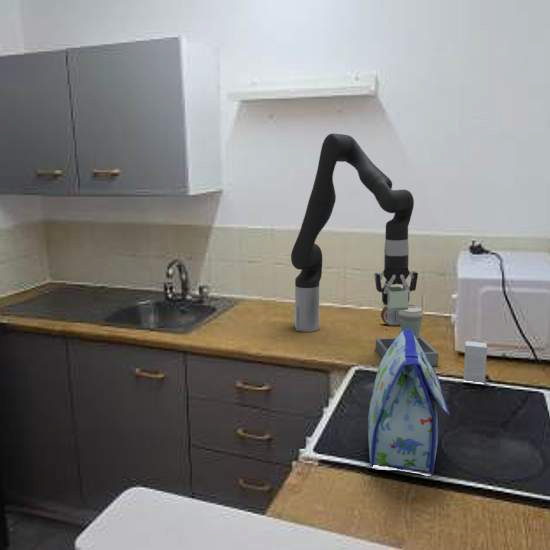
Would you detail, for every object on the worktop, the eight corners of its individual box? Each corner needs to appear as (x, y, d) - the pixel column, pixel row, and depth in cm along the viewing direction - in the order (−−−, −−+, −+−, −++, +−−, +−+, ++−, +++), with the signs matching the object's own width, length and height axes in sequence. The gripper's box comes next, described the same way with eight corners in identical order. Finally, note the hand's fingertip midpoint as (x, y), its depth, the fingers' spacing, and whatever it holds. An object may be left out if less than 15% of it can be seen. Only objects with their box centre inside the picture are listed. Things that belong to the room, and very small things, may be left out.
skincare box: (484, 380, 165) (487, 342, 163) (484, 386, 161) (487, 347, 159) (462, 378, 167) (465, 340, 165) (462, 383, 163) (465, 345, 161)
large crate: (388, 368, 175) (388, 355, 174) (375, 350, 191) (375, 338, 190) (437, 366, 176) (438, 353, 175) (420, 349, 192) (421, 336, 191)
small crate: (389, 310, 177) (390, 292, 176) (383, 304, 185) (383, 286, 184) (408, 309, 177) (408, 291, 176) (400, 303, 185) (401, 286, 184)
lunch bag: (447, 480, 116) (455, 363, 110) (367, 474, 118) (370, 359, 113) (435, 429, 137) (441, 328, 131) (367, 424, 140) (370, 325, 134)
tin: (419, 324, 219) (420, 304, 217) (420, 327, 216) (421, 306, 214) (380, 323, 221) (381, 303, 219) (381, 326, 218) (382, 305, 216)
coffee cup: (424, 338, 203) (425, 306, 200) (419, 345, 195) (421, 313, 193) (400, 335, 206) (401, 304, 204) (395, 342, 199) (396, 310, 196)
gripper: (377, 255, 173) (376, 307, 177) (422, 254, 174) (421, 305, 178) (371, 252, 181) (371, 302, 184) (414, 250, 182) (413, 300, 185)
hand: (395, 303), depth 181 cm, fingers closed on small crate, 6 cm apart
